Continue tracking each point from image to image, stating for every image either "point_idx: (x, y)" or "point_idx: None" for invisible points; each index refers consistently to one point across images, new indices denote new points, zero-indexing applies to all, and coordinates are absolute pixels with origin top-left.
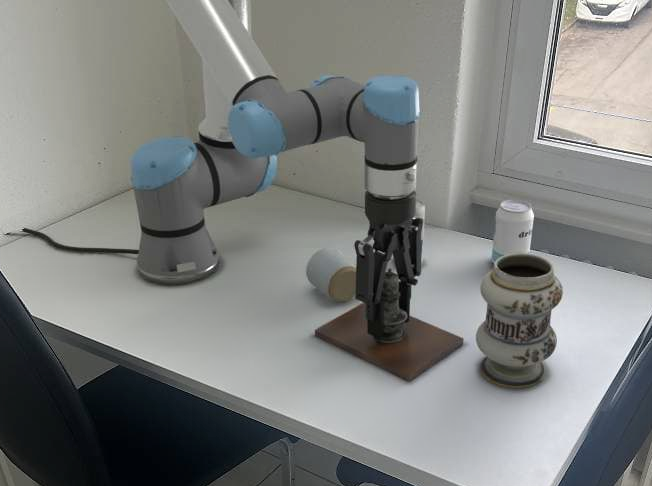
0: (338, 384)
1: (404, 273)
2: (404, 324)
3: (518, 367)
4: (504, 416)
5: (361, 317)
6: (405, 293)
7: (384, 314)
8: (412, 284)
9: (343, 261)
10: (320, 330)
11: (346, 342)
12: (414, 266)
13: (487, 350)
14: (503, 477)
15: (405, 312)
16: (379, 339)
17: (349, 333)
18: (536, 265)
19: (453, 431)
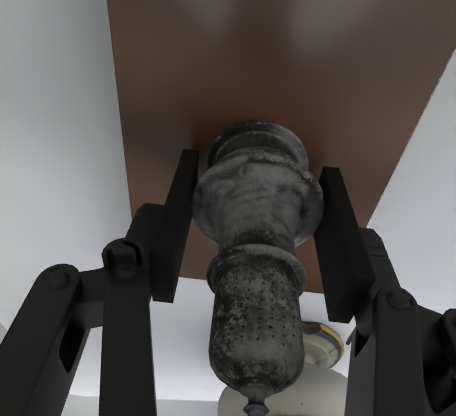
0: (7, 158)
1: (354, 369)
2: None
3: None
4: (173, 361)
5: (312, 23)
6: (326, 289)
7: (217, 229)
8: (348, 338)
9: None
10: None
11: (129, 86)
12: (428, 395)
13: (220, 404)
14: (80, 378)
15: (301, 242)
16: (208, 166)
17: (181, 58)
18: None
19: (96, 335)
